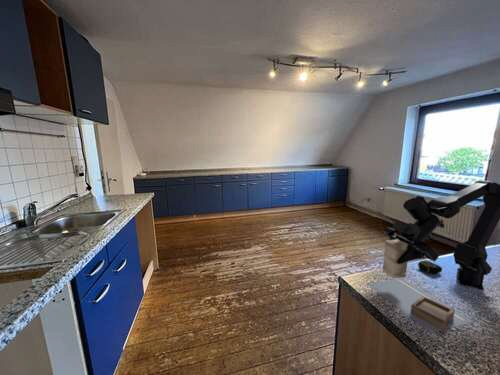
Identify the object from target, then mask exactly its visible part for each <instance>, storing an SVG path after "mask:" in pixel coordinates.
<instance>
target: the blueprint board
mask: <svg viewBox="0 0 500 375" xmlns="http://www.w3.org/2000/svg"><path fill="white" fill-rule="evenodd" d="M367 285H368V286H369V287H371V288H372V289H373V290H375V291H376V292H377V293H378V294H380V295H381V296H383V297H384V298H385V299H386V300H388V302H390V303H391V304H393V305H394V306H396V307H397V308H398V309H399V310H401V311H402V312H403V313H404V314H406V315H408V316H409V317H410V318H412V319H413V320H414V321H415V322H417V323H418V324H419V325H421V326H422V327H423V328H425V329H426V330H428V331H429V332H430V333H431V334H432V333H433V334H434V333H436V332H440V331H445V330H449V329H452V328H455V327H460V326H464V325H467V324H471V323H474V322H475V321H473V320H472V319H470V318H469V317H467V316H465V315H464V314H462V313H460V312H459V311H457V310H455V309H453V307H451V306H448V305H447V304H446V303H444V302H442V301H440V299H437V298H435V297H434V296H433V295H430V294H429V293H427V291H424V290H422V289H420V288H419V287H418V286H416V285H414V284H412V283H410V282H409V281H407V280H405V278H403V277H402V278H392V279H389V280H388V279H387V280H383V281H377V282H372V283H367ZM422 296H424V297H426V298H429V299H431V300H433V301H435V302H438V303H440V304H442V305H444V306H446V307H449V308H451V309H453V310H455V311H454V318H453V320H452V321H451V322H450V323H449V324H448V325H447V326H446V327H445V328H444V329H443V330H442V329H440V328H438V327H436V326H434V325H432V324H431V323H429V322H427V321H425V320H423V319H421V318H419V317H417V316H415V315H414V314H412V313H411V305H412V304H413V303H415V302H416V301H417V300H418V299H420V298H421V297H422Z"/></svg>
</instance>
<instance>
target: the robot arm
mask: <svg viewBox="0 0 500 375" xmlns="http://www.w3.org/2000/svg"><path fill="white" fill-rule="evenodd" d="M480 198H482V201H483V203H484V204H483V205H484V207H483V209H482V211H481V213H480V215H479V218H478V219H477V221H476V223H475V225H474V226H473V229H472V231H471V233H470V234H469V237H468V238H467V240H466V241H464V242H459V241H458V243H457V244H456V247H455V249H454V250H453V259H454V263H455V264H456V265H458V266H459V267H457V268H456V275H455V276H456V280H457V281H458V282H459V284H460V285H461V286H467V287H471V288H475V289H480V290H485V287H484V286H483V285H484V284H483V283H484V278H485V276H488V274H490V273H491V271H492V269H493V268H492V266H491V265H490V264H489V263H488V262H487V259H488V256H489V255H488V252H487V249H486V247H487V245H488V243H489V240H490V239H491V237H492V235H493V233H494V231H495V229H496V227H497V225H498V223H499V221H500V183H497V182H495V181H492V180H481V179H479V180H476V181H474V183H472V184H471V185H468V186H467V187H465V188H462V189H461V190H458V191H457V192H454V193H452V194H450V195H448V196H439V197H436V198H433V199H431V200H429V201H426V199H425V197H424V196H421V195H417V196H416V197H411V198H409V199H408V200H405V201H404V203H403V204H402V205H403V208H404V210H405V211H406V212H407V213H408V214H409V216H411V218H412V219H413V220H415V221H414V222H413V223H411V222H409V223H404V222H401V221H400V220H395V221H394V223H393V226H392V227H389V226H387V227H385V228H384V229H383V233H384V234H385V235H386V236H387V237H388V238H389V240H397V239H398V240H400V241H402V242H404V243H406V244H408V247H407V250H406V251H405V252H404V254H403V255H402V256H401V257H400V258H399V259H398V261H397V263H398V264H401V263H405V262H407V263H408V262H411V261H414V260H419V259H423V260H425V259H428V260H430V261H432V262H433V263H434V262H436V261H437V260H438V259H439V257H440V256H439V252H437V251H436V249H435V248H434V247H433V246H432V244H429V243H427V242H424V241H425V240H430V239H431V238H432V237H431V236H430V235H431V234H432V233H433V232H434V231H435V230H436V229H437V228H441V229H444V228H445V223H444V220H443V219H440V218H445V219H451V218H453V217H454V216H456V215H458V214H459V213H460V212H461V208H462V207H464V206H466V205H469V203H472V202H473V201H475V200H477V199H478V200H479V199H480ZM439 217H440V218H439Z"/></svg>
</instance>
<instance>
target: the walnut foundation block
mask: <svg viewBox="0 0 500 375" xmlns="http://www.w3.org/2000/svg"><path fill="white" fill-rule="evenodd" d="M449 307H450V306H449ZM449 307H446V306H444V305H442V304H440V303H438V302H435V301H433V300H431V299H429V298H426V297H424V296H422V297H421V298H420V299H418V300H417V301H416V302H415V303H413V304H412V305H411V313H412V314H414V315H415V316H417V317H419V318H421V319H423V320H425V321H427V322H429V323H431V324H432V325H434V326H436V327H438V328H440V329H442V330H441V331H444V330H443V329H444V328H445V327H446V326H447V325H448V324H449V323H450V322H451V321H452V320H453V318H454V311H455V309H454V310H453V308H452V307H451V308H452V309H451V308H449Z"/></svg>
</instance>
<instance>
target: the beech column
mask: <svg viewBox="0 0 500 375" xmlns="http://www.w3.org/2000/svg"><path fill="white" fill-rule="evenodd" d="M407 247H408V244H406V243H404V242H402V241H400V240H398V239H397V240H390V239H387V240H386V239H385V241H384V252H383V262H382V264H383V265H382V272H384V273H385V274H386V275H388V276H389V277H390V278H391V279H399V278H402V279H403V278H406V276H407V268H408V267H407V266H408V262H405V263H401V264H398V263H397V261H398V259H399V258H400V257H401V256H402V255H403V254H404V252H405V251H406V250H407Z"/></svg>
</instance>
